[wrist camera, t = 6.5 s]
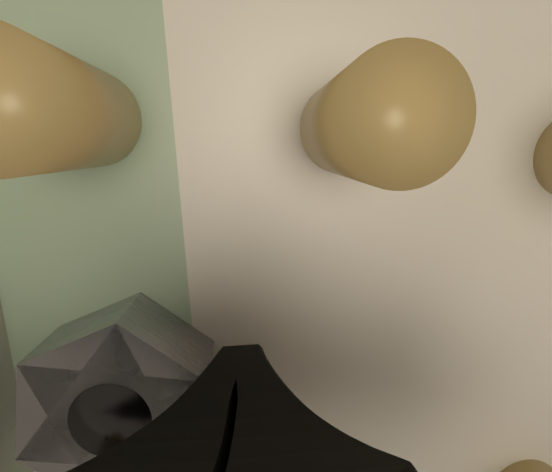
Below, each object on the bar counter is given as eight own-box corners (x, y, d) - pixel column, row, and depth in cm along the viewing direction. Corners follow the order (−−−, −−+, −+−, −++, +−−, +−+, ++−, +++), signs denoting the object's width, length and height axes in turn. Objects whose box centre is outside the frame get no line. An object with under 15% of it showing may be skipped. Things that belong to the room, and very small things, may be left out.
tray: (592, 517, 16) (770, 711, 10) (47, 565, 15) (-71, 806, 9) (667, -12, 12) (1013, -143, 6) (-63, 9, 11) (-368, -124, 6)
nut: (244, 402, 13) (242, 454, 10) (91, 464, 13) (58, 529, 11) (182, 274, 12) (166, 302, 10) (19, 342, 12) (-34, 385, 10)
